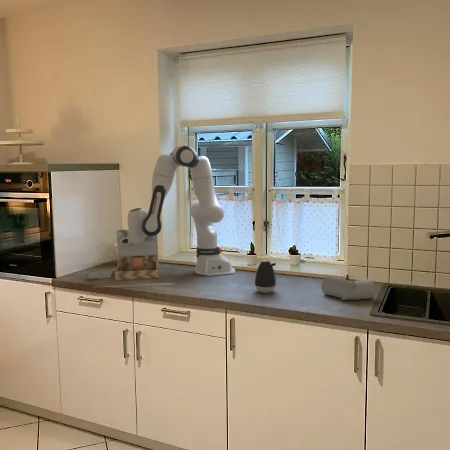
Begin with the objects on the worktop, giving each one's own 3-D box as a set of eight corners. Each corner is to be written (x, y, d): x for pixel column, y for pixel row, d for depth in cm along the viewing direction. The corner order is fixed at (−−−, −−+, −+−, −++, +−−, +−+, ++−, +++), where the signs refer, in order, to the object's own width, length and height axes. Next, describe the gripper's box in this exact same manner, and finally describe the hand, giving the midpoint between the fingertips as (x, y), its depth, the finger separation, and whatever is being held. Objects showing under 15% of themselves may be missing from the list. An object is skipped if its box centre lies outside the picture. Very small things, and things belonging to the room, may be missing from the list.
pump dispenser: (270, 296, 216) (270, 263, 214) (250, 292, 221) (250, 261, 219) (280, 290, 224) (280, 259, 222) (260, 287, 230) (260, 257, 228)
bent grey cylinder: (333, 302, 202) (377, 299, 206) (332, 277, 203) (375, 275, 206) (318, 299, 220) (359, 296, 223) (317, 276, 221) (357, 274, 224)
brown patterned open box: (158, 270, 266) (157, 228, 262) (158, 279, 246) (157, 234, 243) (118, 272, 263) (116, 229, 259) (115, 281, 243) (113, 235, 240)
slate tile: (112, 273, 261) (112, 271, 261) (110, 279, 248) (110, 277, 248) (90, 274, 260) (90, 272, 260) (86, 280, 246) (86, 278, 246)
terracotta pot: (144, 269, 258) (144, 254, 257) (144, 272, 252) (143, 257, 251) (132, 270, 257) (132, 255, 256) (132, 272, 251) (131, 258, 250)
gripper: (156, 236, 256) (157, 261, 258) (118, 238, 254) (119, 263, 256) (156, 238, 250) (157, 264, 252) (117, 240, 247) (118, 266, 250)
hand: (138, 263), depth 254 cm, fingers closed on terracotta pot, 6 cm apart
